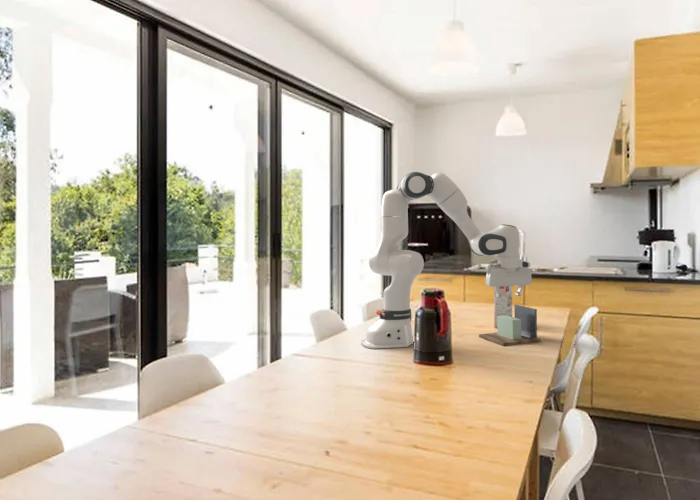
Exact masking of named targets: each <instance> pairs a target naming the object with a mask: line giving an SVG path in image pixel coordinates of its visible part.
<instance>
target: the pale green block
mask: <svg viewBox="0 0 700 500" xmlns="http://www.w3.org/2000/svg"><path fill="white" fill-rule="evenodd" d="M496 330H497V332H496V333H497V334H498V335H501V336H504V337H506V338H509V339H512V340H514V339H521V319H517V318H515V316H512V317H510V316H506V315H503V316H497V328H496Z"/></svg>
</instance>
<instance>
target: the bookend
mask: <svg viewBox="0 0 700 500" xmlns="http://www.w3.org/2000/svg"><path fill="white" fill-rule="evenodd" d="M513 305H514V310H513V311H514V318H517V319H521V337H525V338H528V339H533V338H538V328H537V327H538V325H537V323H538V321H537V320H538V316H537V315H538V312H537V311H538V309H537V308H532V307H529V306H528V307H527V306H524V305H519V304H513Z"/></svg>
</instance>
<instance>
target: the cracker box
mask: <svg viewBox="0 0 700 500" xmlns="http://www.w3.org/2000/svg"><path fill="white" fill-rule="evenodd" d="M493 290H494V289H493ZM498 290H499V292H500V293H501V297H496V292H495V290H494V291H493V292H494V299H493V303H494V304H493V305H494V307H493V308H494V310H493V311H494V313H493V315H494V316H493V317H494V321H493V322H494V323H493V324H494V328H496V329H497V316H503V315H506V316H510V317H513V286H499V289H498Z"/></svg>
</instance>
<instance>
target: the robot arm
mask: <svg viewBox="0 0 700 500" xmlns="http://www.w3.org/2000/svg"><path fill="white" fill-rule="evenodd" d="M425 196H429V197H430V198H431V199H432V200H433V201H434V203H435V204H436V205H437V206H438V208H440V209H441V210H442V212H443V213H445V215H446V216H448V217H449V218H450V219H451V220H452V221H453V222H454V223H455V224H456V226H457V227H458V228H459V230H460V231H461V232H462V234H463V235H464V236H465V237H466V239H467V243H468V246H469V249H470V251H471V252H472V253H473V254H475V255H476V256H478V257H484V256H485V257H490V256H495V255H497V263H490V264H489V265H487V267H486V275H485V284H486V286H487V287H492V288H493V290H495V292H496V297H501V293H500V292H499V290H498V289H499V286H512V287H513V286H517V288H518V289H517V290H516V291H514V292H515V293H514V294H515V297H521V296H522V291H523V289H524V286H530V285H531V284H532V271H531V269H530V267H531V262H529V261H526V260H523V259H521V258H520V252H519V250H520V246H521V245H520V241H521V240H520V232H519V229H518V228H517V226H516V225H515V226H514V225H511V224H500V225H498V226H497V227H496V228H494V229H492V230H490V231H487V232H484V231H482V230H480V229H479V228H478V226H477V225H476V224H475V222H474V221H473V219H471V217H470V216H469V213H468V200H467V198H466V195H465V194H464V193H463V191H462V190H461V189H460V188H459V187H458V185H457V184H456V183H455V182H454V181H453V180H452V179H451V178H450V177H449V176H447V174H445V173H444V172H441V171H440V172H435V173H433V174H432V175H428V174H425V173H424V172H419V171H413V172H409V173H407V174H405V175H404V176H403V177H402V178H401V180H400V181H399V183H398V185H397V187H396V188H394V189H389V190H387V191H386V192H384V194H383V195H382V200H381V211H380V218H381V219H380V220H381V224H380V225H381V226H380V227H381V228H380V232H381V233H380V240H379V242H378V245H377V247H376V249H375V250H374V251H373V252H372V253H371V254H370V256H369V260H368V264H369V268H370V270H371V271H372V272H373V273H375V274H377V275H382V276H389V277H390V276H391V277H392V279H391V282H390V284H389V285H388V286H386V287H385V288H384V290H383V295H382V296H383V298H382V299H383V302H382V303H383V309H382V310H379V309H376V310H375V314H376V315H377V316H379V318H378V319H377V320H376V321H375V322H374V323H372V324H371V325H370V326H369V327H368V328H367V329H366V334H365V339H361V340H360V344H361V346H363V347H364V348H368V349H375V350H376V349H391V348H392V349H393V348H408V347H409V346H411V345H413V344H414V343H413V338H414V335H413V329H412V309H411V290H412V285H413V283H414V281H415V280H416V278H417V277H418V276H419V275H420V274H421V273H423V272H422V271H423V270H424V267H425V266H424V265H425V261H424V258H423V255H422V254H421V253H420V252H418V251H414V250H412V249H411V250H410V249H400V244H401V242H402V241H403V240H405V239H407V237H408V234H409V216H408V215H409V213H408V207H409V203H410V202H411V201H413V200H418V199H421V198H423V197H425Z"/></svg>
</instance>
